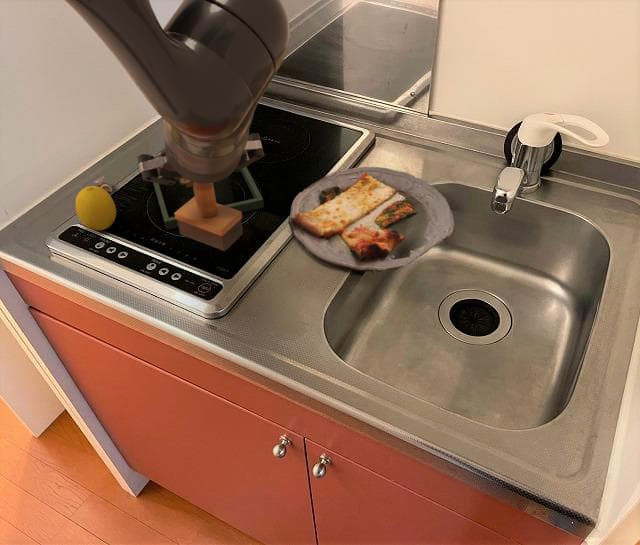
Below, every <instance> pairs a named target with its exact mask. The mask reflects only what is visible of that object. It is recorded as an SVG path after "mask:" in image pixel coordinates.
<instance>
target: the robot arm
mask: <svg viewBox="0 0 640 545" xmlns="http://www.w3.org/2000/svg"><path fill="white" fill-rule="evenodd" d="M64 1H65V3H67V4H68V5H69V6H70V7H71V8H72V9H73V10H74V11H75V12H76V13H77V14H78V15H79V16H80V17H81V18H82V20H83V21H84V22H85V24H87V26H89V28H91V29H92V31H93V32H94V33H95V34H96V35H97V37H98V38H99V39H100V40H101V41H102V42H103V44H104V45H105V46H106V47H107V49H108V50H109V51H110V52H111V53H112V55H113V56H114V57H115V58H116V60H117V61H118V63H119V64H120V65H121V66H122V68H123V69H124V70H125V71H126V73H127V74H128V76H129V78H130V79H131V80H132V82H133V83H134V84H135V85H136V87H137V88H138V90H139V91H140V92H141V93H142V95H143V97H144V98H145V99H146V101H147V102H148V103H149V105H151V107H152V108H153V109H154V110H155V111H156V113H157V114H158V115H159V116H160V117H161V118H162V120H163V122H162V127H163V137H164V138H163V139H164V140H163V141H164V148H163V149H162V150H161V151H160V154H159V155H160V156H161V157H157V155H158V154H152V155H151V154H147V153H142V154H140V155H138V156H137V157H136V158H137V161H138V166H139V170H140V173H141V177H142V180H143V181H145V182H148V183H149V182H150V183H153V182H154V183H159V185H164V186H173V185H174V184H176V183H177V182H176V181H177V180H178V181H179V185H180V186H185V187H186V188H187V189H188V188H191V187H192V188H193V182H196V183H204V184H207V183H213V184H215V183H218V182H221V181H223V180H225V179H226V178H228V177H229V176H230V175H231V174H233V173H238V172H239V171H241V169H242V168H244V167H248V166H250V165H252V164H253V163H255V162H257V161H258V160H260V159H262V158H263V157H265V152H264V148H263V145H262V141H261V136H260V133H257V132H256V133H255V132H252V133H250V128H251V125H252V122H253V119H254V115H255V111H256V109H257V107H258V104H259V102H260V101H261V98H262V97H263V95H264V94H265V92H266V90H267V89H268V87H269V85H270V84H271V83H272V80H273V79H274V78H275V76H276V74H277V72H278V71H279V68H280V67H281V66H282V63H283V61H284V60H285V58H286V56H287V53H288V52H289V48H290V42H291V28H290V21H289V18H288V14H287V11H286V9H285V6H284V5H283V3H282V1H281V0H182V2H181V4H180V5H179V6H178V7H177V9H176V10H175V12H174V13H173V15H172V16H171V17H170V19H169V20H168V21H167V23H166V24H165V26H164V27H162V26H161V24H160V22H159V20H158V18H157V16H156V13H155V11H154V8H153V7H152V4H151V1H150V0H64Z"/></svg>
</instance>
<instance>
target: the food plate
mask: <svg viewBox="0 0 640 545" xmlns="http://www.w3.org/2000/svg"><path fill="white" fill-rule="evenodd" d="M395 194H398V195H400V196H402V197H404V198H403V199H401V200H395V201H393V202H392V203H391V204H390V205H388V206H386V207H385V208H384V209H383V210H382V211H381V212H380V213H379V214H378V215H377V216H376V217H375V218H374V220H373V223H374V224H375V225H377V227H379V228H380V229H376V228H370V226H363V224H362V223H360V224H359V227H358V226H355V227H354V230H350V229H347V228H348V227H350V226H351V225H353V224H354V223H355V222H357V221H359V220H361V219H362V218H365V217H366V216H367V215H368V214H370V213H371V212H372V211H374V210H376V209H377V207H379V206H381V205H383V204H384V203H387V202H388V201H389V200H391V199H392V197H393V196H394V195H395ZM408 200H410V201H411V202H413V203H414V204H416V205H417V206H418V208H419V209H421V211H422V212H423V214H424V217H425V220H426V228H425V232H424V238H425V239H427V241H428V242H427V244H424V245H423V249H422V250H421V251H414V250H409V256H406V257H402V258H396V256H395V255H393V254H392V255H390V253H391V252H392V251H393V250H394V249H395V248H397V246H398V245H400V244H401V243H402V244H403V241H404V240H405V236H404V235H403V234H401V233H399V231H398V230H397V229H392V230H389V231H388V229H387V227H388V226H390V225H393V224H395V223H397V222H401V221H403V220H405V219H407V218H409V217H413V216H414V215H417V212H416V210H414V206H413V205H411V203H410V202H409V201H408ZM289 211H290V212H289V217H288V221H287V223H288V225H289V228H290V229H291V235H292V236H293V237H294V238H295V239H296V240H297V242H298V243H299V244H300V245H301V246H302V247H304V249H305V250H306V251H307V252H309V254H311V255H312V256H313V257H314V258H316V259H317V260H320V261H321V262H323V263H325V264H330V265H333V266H336V267H337V266H338V267H342V268H346V269H350V270H352V271H355V272H364V273H366V272H367V273H368V272H371V274H374V272H378V273H381V272H384V271H386V270H387V269H391V270H392V271H396V270H398V269H401V268H403V267H405V266H407V265H410V264H411V263H412V262H414V261H415V260H416V259H418V258H420V257H422V256H424V254H427V253H428V252H429V251H430V250H431V249H433V248H434V247H436V246H438V245H439V243H441V242H442V241H443V240H444V239H446V238H449V237H451V236H452V233H453V231H454V228H455V220H454V214H453V212H452V210H451V207H450V205H449V203H448V200H447V198H446V197H444V195H443V194H442V193H441V192H439V190H438V189H437V187H436V186H433V184H430V183H429V182H427V181H425V180H423V179H421V178H419V177H417V176H415V175H414V174H411V173H410V172H406V171H402V170H397V169H391V168H389V167H381V166H360V167H354V168H348V169H343V170H342V169H340V170H336V171H334V172H331V173H330V174H328V175H326V176H324V177H322V178H320V179H319V180H316V182H313V183H312V184H310V185H309V186H307V187H306V188H304V189H303V190H301V191H300V192H299V193H298V194H297V195H296V196H295V197H294V199H293V200H292V203H291V205H290V210H289ZM336 235H337V236H340V239H341V240H342V241H343V242H344V243H345V244H346V246H347V247H348V249H349V252H350V253H351V254H350V253H343V252H342V251H341V250H339V248H333V247H332V246H331V244H330V242H329V239H330V238H332V237H335V236H336ZM420 242H421V239H420V240H419V241H418V242H417V243H418V244H420ZM412 248H413V247H411V249H412ZM395 258H396V259H395ZM374 270H375V271H374Z"/></svg>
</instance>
